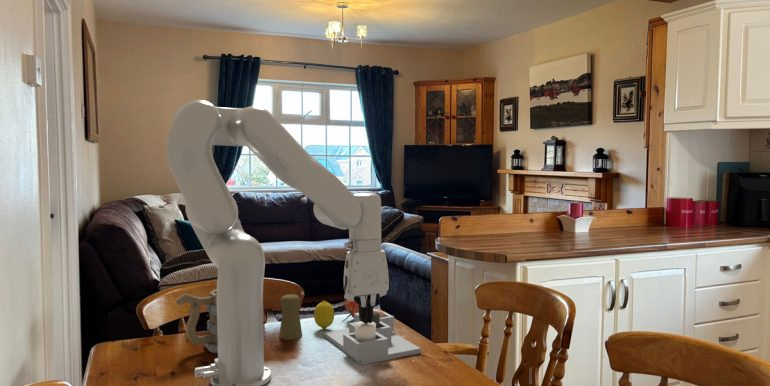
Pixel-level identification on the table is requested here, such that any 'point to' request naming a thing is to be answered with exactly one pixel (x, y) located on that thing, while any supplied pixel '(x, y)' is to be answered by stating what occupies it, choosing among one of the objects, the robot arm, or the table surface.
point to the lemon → (324, 314)
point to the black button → (376, 318)
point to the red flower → (351, 308)
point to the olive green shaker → (290, 318)
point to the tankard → (195, 302)
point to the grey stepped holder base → (372, 342)
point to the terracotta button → (379, 312)
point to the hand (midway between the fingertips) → (366, 321)
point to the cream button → (365, 331)
